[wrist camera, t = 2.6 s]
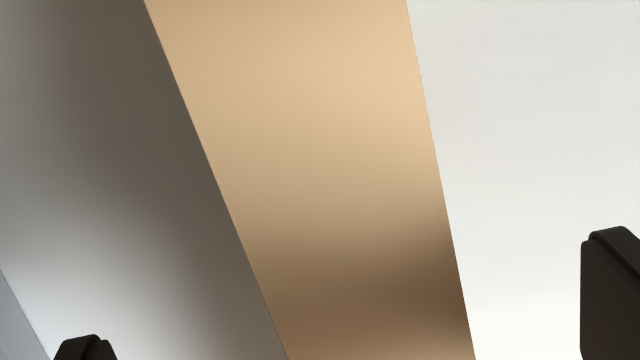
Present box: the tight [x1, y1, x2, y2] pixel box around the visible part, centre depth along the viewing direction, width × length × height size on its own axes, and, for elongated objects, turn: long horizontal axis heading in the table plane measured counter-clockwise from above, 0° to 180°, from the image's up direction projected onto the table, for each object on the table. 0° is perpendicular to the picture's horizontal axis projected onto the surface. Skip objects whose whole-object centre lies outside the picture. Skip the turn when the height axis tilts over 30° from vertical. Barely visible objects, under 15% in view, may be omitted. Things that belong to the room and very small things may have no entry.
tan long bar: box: [144, 0, 476, 360], centre depth 13 cm, size 24×4×6 cm, turn 15°
